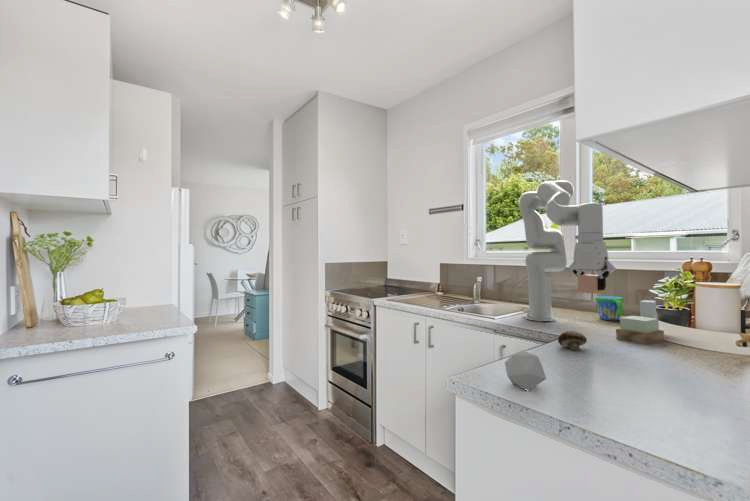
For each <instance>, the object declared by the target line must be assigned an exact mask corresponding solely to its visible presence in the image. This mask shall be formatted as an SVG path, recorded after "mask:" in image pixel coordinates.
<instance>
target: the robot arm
mask: <svg viewBox="0 0 750 501" xmlns="http://www.w3.org/2000/svg"><path fill="white" fill-rule="evenodd" d="M574 192H575V189H574V185H573V184H572V183H571V182H570V181H568V180H550V181H549V180H547V181H543V182H542V183H539V184H538V186H537V188H536V190H533V191H532V190H531V191H526V192H524V193H522V194H521V195H520V197H519V199H518V208H519V209H518V210H519V212H520V213H519V214H520V215H521V218H522V220H523V225H524V226H523V227H524V232H525V241H526V245H527V247H528V248H529V249H531V250H543V251H531V252H529V253H528V254H527V255H526V256H525V261H524V262H525V266H526V270H527V271H526V272H527V273H526V274H527V280H528V282H527V284H528V286H527V287H528V308H524V309H523V310H522V313H524V314H527V315H525V319H526V320H527V319H529V320H528V321H531V320H535V321H534V322H541V321H550V322H555V321H556V320H557V319H556V317H555V316H553V313H552V312H553V311H552V310H553V309H552V308H553V307H552V282H551V279H550V278H549V276H548V275H547V273H551V272H553V273H557V272H562V271H564V270H566V268H567V263H568V262H567V261H568V260H567V253H566V246H565V240H564V236H563V234H562V232H561V231H560V230H558V229H556V228H545V223H544V222H545V221H544V219H543V217H542V216H541V214H540V213H539V212H537V211H536V210H545V212H546V216H547V218H548V219H549V221H551V222H552V223H553V224H555V225H556V226H561V227H563V226H565V227H569V226H577V235H575V236H574V239H575V240H577V241H578V242H575V245H574V250H573V258H572V259H573V262H572V263H571V264H569V268H568V269H569V270H571V271H572V272H573V274H574V275H575V277H576V278H578V275H586V271H593V272H594V271H596V273H597V275H598V276H599V279H598V290H605V291H606V285H607V284H606V279H607V278H608V277H609V276H610V275H611V274H612V273H613V272H614V271H615V270H616V269H617V268H616V267H615V266H614V265H613V264H612V263H611V262H610V261H609V254H608V248H607V244H606V241H604V220H603V219H604V214H603V212H604V210H603V205H602V203H599V202H587V203H585V202H584V203H581V204H579V205H570V203H571V199H572V197H574ZM545 250H549V251H545Z"/></svg>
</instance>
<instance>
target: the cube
mask: <svg viewBox="0 0 750 501" xmlns="http://www.w3.org/2000/svg"><path fill="white" fill-rule="evenodd" d="M598 279H599V276H598V274H586V273H585V274H584V275H578V277H577V293H583V294H584V293H585V294H602V293H606V289H605V290H598Z"/></svg>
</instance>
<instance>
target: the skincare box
mask: <svg viewBox="0 0 750 501" xmlns="http://www.w3.org/2000/svg"><path fill="white" fill-rule="evenodd" d="M656 309H657V302H656V300H646V299H643V300H641V301H639V311H640V312H639V314H640V317H648V318H656V319H658V312H657V311H656Z"/></svg>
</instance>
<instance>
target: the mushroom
mask: <svg viewBox="0 0 750 501" xmlns="http://www.w3.org/2000/svg"><path fill="white" fill-rule="evenodd" d="M587 340H588V339H587V337H586V336H585V335H584V334H583V333H580V332H577V331H573V330H569V331H568V330H567V331H564V332H562V333H561V334H560V335H559V336H558V338H557V341H558V343H559V345H560V346H561V347H564V348H569V350H573V351H580V350H581V348H580V346H583V345H585V344H586V343H587Z"/></svg>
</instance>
